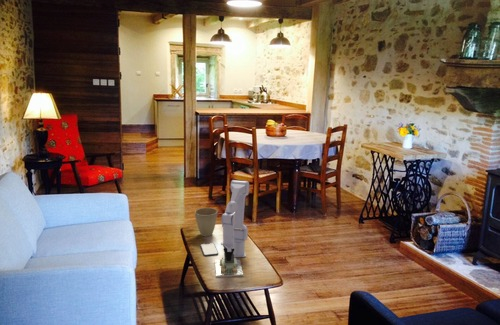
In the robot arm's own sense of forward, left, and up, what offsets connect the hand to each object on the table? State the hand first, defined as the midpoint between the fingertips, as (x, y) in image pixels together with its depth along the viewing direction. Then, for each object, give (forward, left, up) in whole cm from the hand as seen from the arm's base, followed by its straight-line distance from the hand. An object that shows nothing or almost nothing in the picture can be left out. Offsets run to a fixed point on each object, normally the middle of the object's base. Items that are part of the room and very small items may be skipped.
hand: (228, 259), depth 225 cm
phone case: (-26, -10, -6) cm, 28 cm away
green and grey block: (0, 0, -3) cm, 3 cm away
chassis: (0, 0, -6) cm, 6 cm away
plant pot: (-52, -11, -6) cm, 53 cm away
